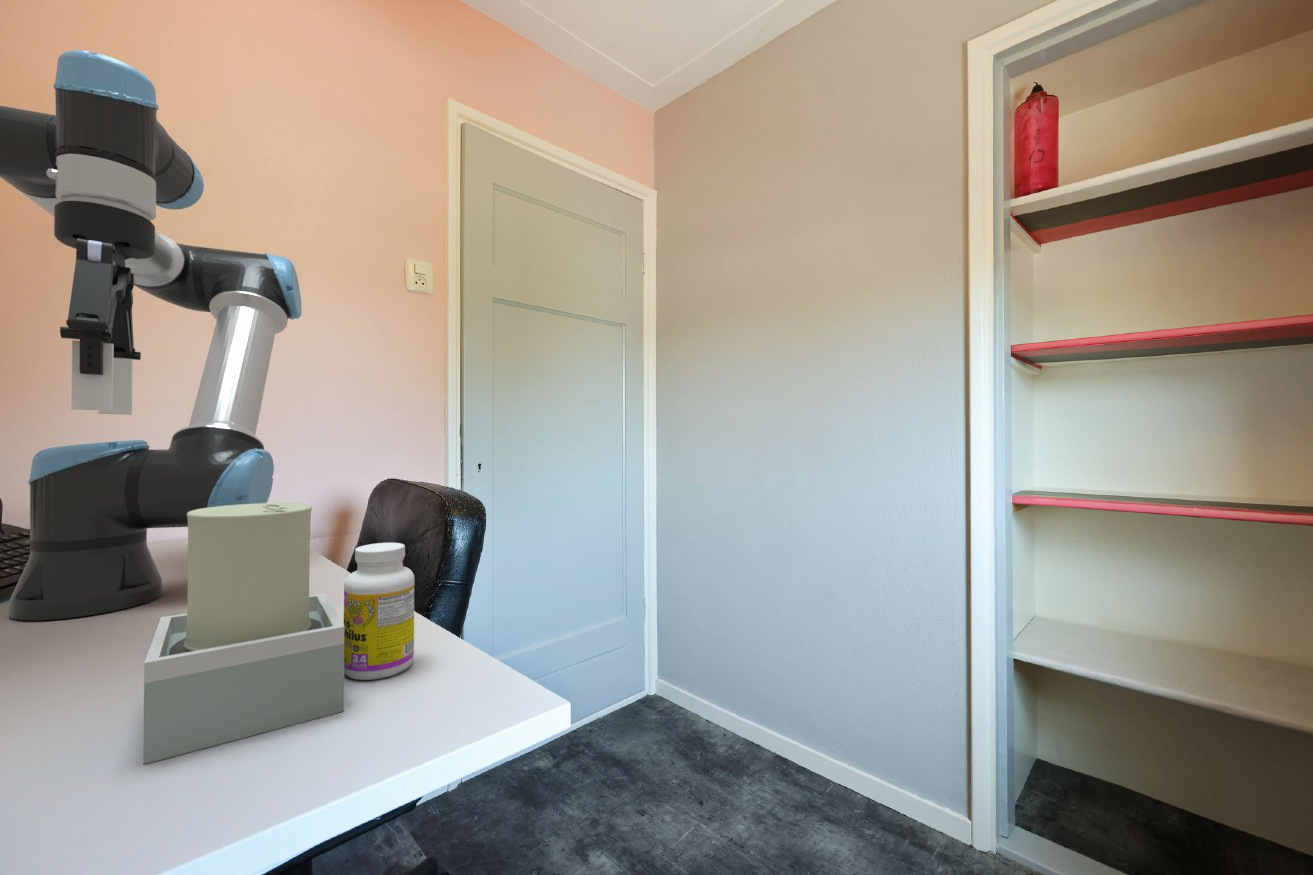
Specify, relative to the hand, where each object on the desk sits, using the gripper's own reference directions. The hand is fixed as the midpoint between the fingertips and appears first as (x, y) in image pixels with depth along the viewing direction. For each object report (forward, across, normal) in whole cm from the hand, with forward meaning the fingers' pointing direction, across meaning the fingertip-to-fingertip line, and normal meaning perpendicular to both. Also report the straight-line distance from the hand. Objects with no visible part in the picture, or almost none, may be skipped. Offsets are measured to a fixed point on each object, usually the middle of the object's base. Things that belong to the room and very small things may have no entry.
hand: (105, 412), depth 58 cm
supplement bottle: (+27, +19, +23) cm, 40 cm away
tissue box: (+27, +20, +12) cm, 35 cm away
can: (+21, +20, +12) cm, 31 cm away
